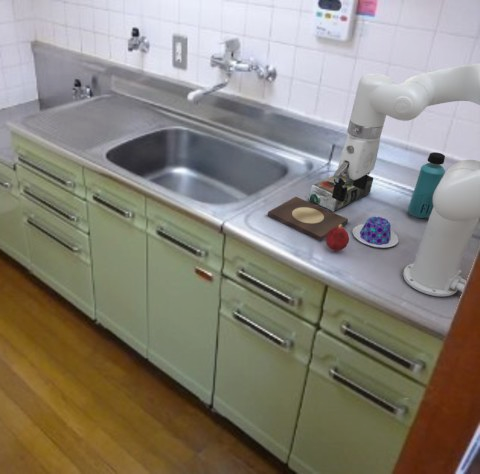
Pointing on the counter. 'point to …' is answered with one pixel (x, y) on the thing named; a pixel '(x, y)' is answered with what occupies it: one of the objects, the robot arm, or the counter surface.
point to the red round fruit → (337, 238)
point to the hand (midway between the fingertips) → (348, 193)
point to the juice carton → (324, 192)
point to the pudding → (376, 233)
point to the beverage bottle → (427, 186)
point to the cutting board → (307, 218)
